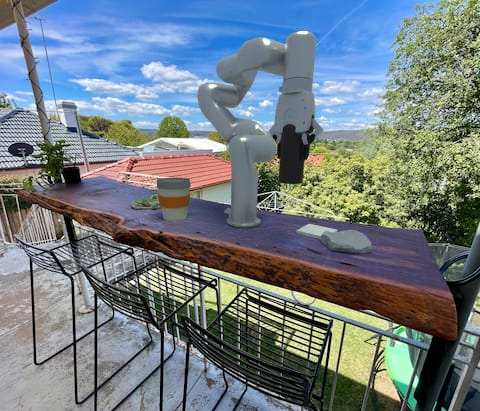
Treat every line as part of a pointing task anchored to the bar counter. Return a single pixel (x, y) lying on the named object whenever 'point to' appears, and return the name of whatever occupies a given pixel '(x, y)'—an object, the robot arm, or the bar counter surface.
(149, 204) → the salad plate
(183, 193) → the reusable coffee cup
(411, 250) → the bar counter surface
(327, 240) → the stone block
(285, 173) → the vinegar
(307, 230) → the tile
